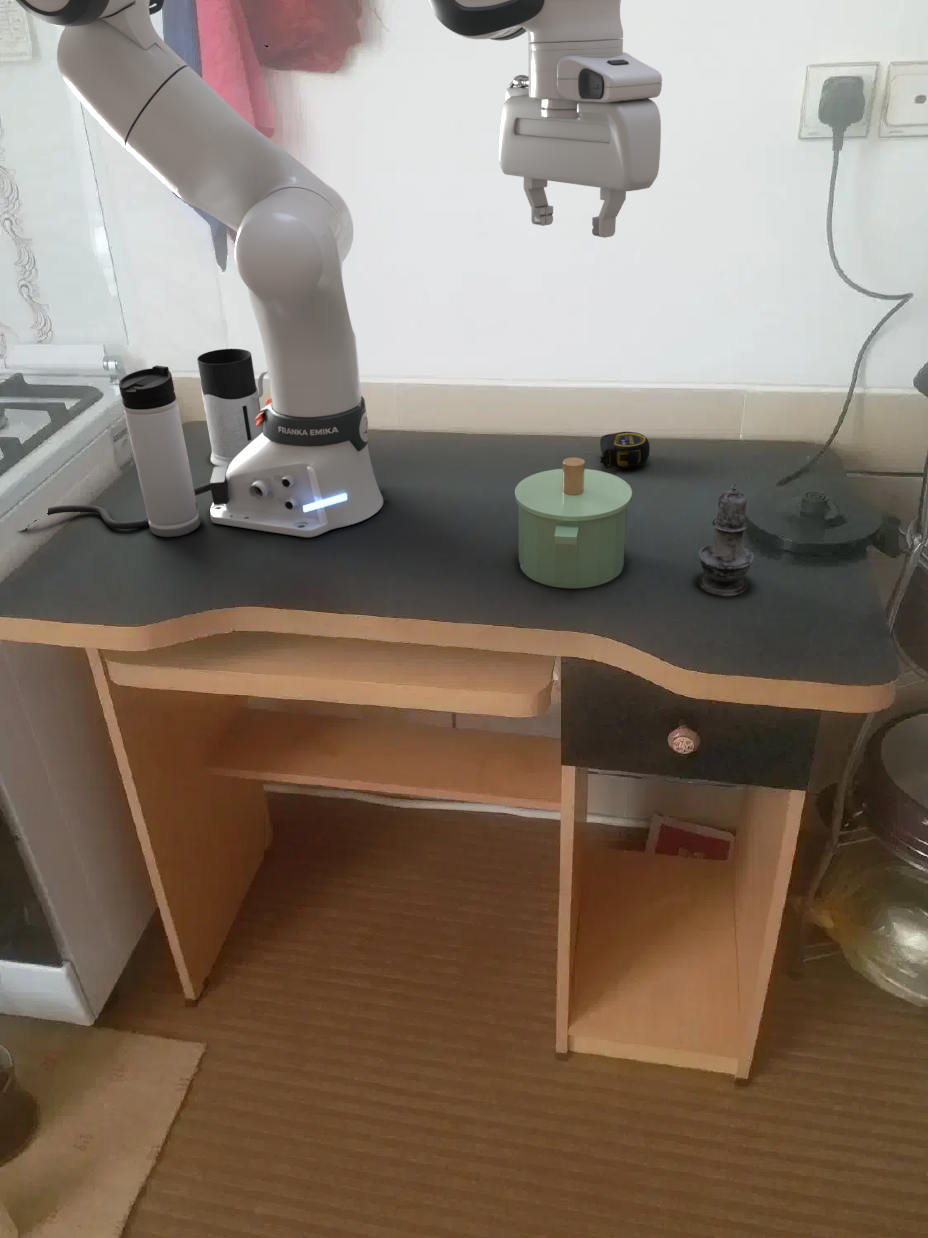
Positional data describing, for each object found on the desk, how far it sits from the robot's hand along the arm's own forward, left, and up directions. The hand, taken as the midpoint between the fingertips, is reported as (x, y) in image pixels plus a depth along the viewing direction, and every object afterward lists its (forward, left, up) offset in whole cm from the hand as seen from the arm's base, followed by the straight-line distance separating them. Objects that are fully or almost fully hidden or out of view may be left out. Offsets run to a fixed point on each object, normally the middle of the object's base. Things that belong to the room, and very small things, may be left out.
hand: (571, 229), depth 101 cm
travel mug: (-50, -2, -36) cm, 61 cm away
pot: (+1, -6, -36) cm, 36 cm away
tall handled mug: (-48, +21, -36) cm, 63 cm away
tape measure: (+5, +24, -36) cm, 44 cm away
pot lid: (+1, -6, -27) cm, 28 cm away
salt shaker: (+18, -9, -36) cm, 41 cm away
